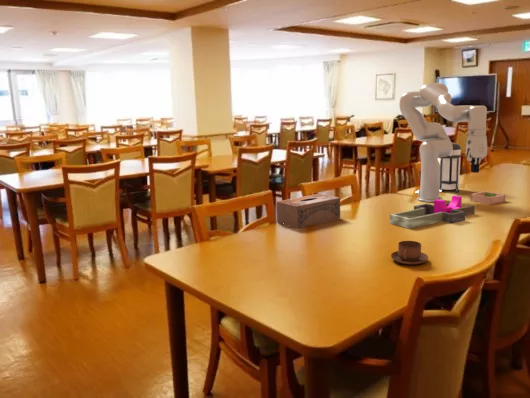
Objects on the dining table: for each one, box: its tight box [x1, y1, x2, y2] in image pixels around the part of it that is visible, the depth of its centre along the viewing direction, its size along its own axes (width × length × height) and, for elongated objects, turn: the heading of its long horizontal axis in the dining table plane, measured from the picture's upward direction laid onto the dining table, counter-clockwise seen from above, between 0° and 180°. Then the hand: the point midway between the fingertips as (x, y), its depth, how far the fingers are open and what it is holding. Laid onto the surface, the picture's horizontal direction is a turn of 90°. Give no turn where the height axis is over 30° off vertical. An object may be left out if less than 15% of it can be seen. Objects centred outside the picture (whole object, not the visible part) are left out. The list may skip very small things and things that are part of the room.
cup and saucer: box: [390, 240, 429, 265], centre depth 160 cm, size 12×12×6 cm
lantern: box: [437, 137, 463, 193], centre depth 271 cm, size 17×16×30 cm
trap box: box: [389, 202, 476, 230], centre depth 214 cm, size 21×42×4 cm, turn 120°
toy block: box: [433, 195, 463, 213], centre depth 220 cm, size 15×6×8 cm, turn 123°
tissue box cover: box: [276, 193, 341, 229], centre depth 218 cm, size 26×14×10 cm, turn 125°
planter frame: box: [469, 190, 506, 205], centre depth 244 cm, size 12×12×4 cm
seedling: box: [485, 192, 496, 197], centre depth 241 cm, size 6×7×6 cm
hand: (474, 172), depth 223 cm, fingers closed
